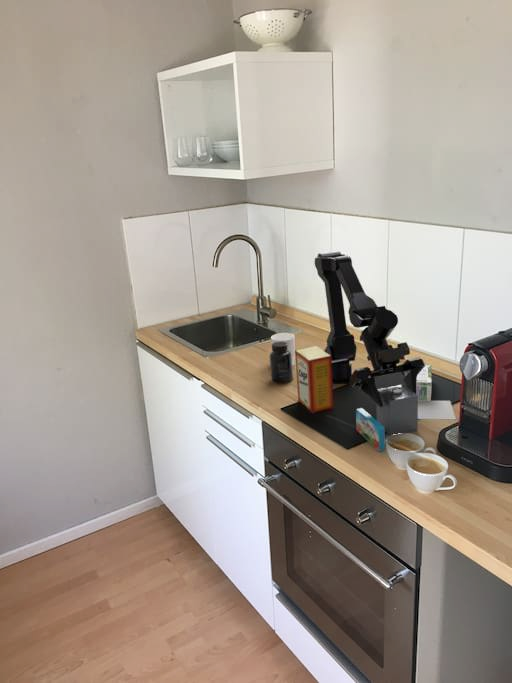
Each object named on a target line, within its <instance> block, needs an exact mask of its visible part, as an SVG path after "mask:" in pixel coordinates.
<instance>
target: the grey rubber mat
mask: <svg viewBox="0 0 512 683" xmlns="http://www.w3.org/2000/svg"><path fill="white" fill-rule="evenodd" d="M418 420H457V418H456V415H455V412H454V409H453V406H452V402H451V400H431V401H418Z"/></svg>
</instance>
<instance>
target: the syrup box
mask: <svg viewBox="0 0 512 683" xmlns="http://www.w3.org/2000/svg"><path fill="white" fill-rule="evenodd" d="M432 382H433V380H432V365H431V364H429V365H427V364H425V367H424V368H423V369H422V370H421V371H420V373H419V374H418V375H417V381H416V389H417V395H418V401H432Z"/></svg>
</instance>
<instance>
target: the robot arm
mask: <svg viewBox="0 0 512 683" xmlns="http://www.w3.org/2000/svg"><path fill="white" fill-rule="evenodd" d="M314 267H315V269H316V271H317V276H318V277H319V278H320V279H321V280H322V282H323V284H324V290H325V296H326V297H325V298H326V304H327V311H328V320H329V327H330V332H329V334H328V336H327V338H326V347H325V349H324V351H325V352H326V353H328V354H329V355H330V356H331V362H332V384H350V387H351V388H356V389H357V390H361V391H363V392H364V393H365V394H366V395H367V396H369V397H370V398H371V399H372V400H373V401H374V403H376V405H377V404H378V405H379V406H380V407H382V406H383V403H382V400H381V397H380V395H379V393H378V390H377V389H378V388H377V386H376V381H375V379H376V378H377V379H378V378H381V377H386V376H393V375H397V374H402V376H403V377H404V378H403V379H402V380H403V382H404V385H405V386H406V387H407V388H409V389H410V390H411V391H413V392H414V393H415V394H417V389H416V381H417V375H418V374H419V373H420V371H421V370H422V369H423V368H424V367H425V365H426V364H425V361H424V359H422V358H421V357H419V356H418V357H414V358H413V357H412V358H408V359H406V358H405V356H409V355H411V350H410V347H409V345H408V342H406V341H405V342H401V343H397V346H396V347H393V346H392V344H389V343H388V341H387V339H388V338H389V336H390V335H391V333H392V332H393V331H394V329H395V328H396V327H397V325H398V323H399V318H398V316H397V314H396V313H395V312H393V311H392V310H390V309H387V307H386V305H381V306H379V305H378V304H377V303H376V301H375V300H374V299H373V298H371V297H370V296H368V295H367V294H366V292H365V290H364V288H363V286H362V284H361V282H360V281H361V280H360V279H359V277H358V276H357V272H356V271H355V269H354V266H353V261H352V258H351V256H349V255H348V254H344V253H341V251H339V250H336V251H335V250H333V251H326V252H320V253H318V254H317V256H316V257H315V258H314ZM343 292H344V294H345V297H346V299H347V301H348V304H349V307H348V317H349V321H350V323H351V325H352V326H353V327H354V328H357V329H359V328H363V330H361V334H360V336H359V341H360V342H363V344H364V348H365V350H366V352H367V357H366V359H367V361H368V362H370V363H371V366H372V369H373V370H371V368H370V367H369V366H365V367H360V368H355V369H354V370H353V365H352V363H351V362H355V361H356V355H357V344H356V342H355V335H353V334H352V333H350V331H349V330H348V328H347V321H346V313H345V306H344V305H345V304H344V298H343V296H344V295H343ZM405 359H406V360H405ZM402 360H405V361H404V362H403V364H400V363H401V361H402ZM397 364H399V365H397Z"/></svg>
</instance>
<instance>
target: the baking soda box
mask: <svg viewBox="0 0 512 683" xmlns="http://www.w3.org/2000/svg"><path fill="white" fill-rule="evenodd" d="M295 366H296V367H295V368H296V385H297V398H298V399H297V400H298V402H299V401H300V402H301V403H302V404H303V405H305V406H306V407H307V408H308V409H309V410H310V411H311V412H318V411H322V410H326V411H328V410H327V409H330V410H332V409H333V408H334V390H333V383H332V362H331V356H330V355H329V354H328V353H326V352H325V350H324V349H322V348H320V347H319V346H317V345H313V346H309V347H305V348H299V349H295ZM300 402H299V403H300ZM301 403H300V404H301ZM302 404H301V405H302ZM303 405H302V406H303ZM311 412H310V413H311ZM322 412H323V411H322ZM318 413H319V412H318Z"/></svg>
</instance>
